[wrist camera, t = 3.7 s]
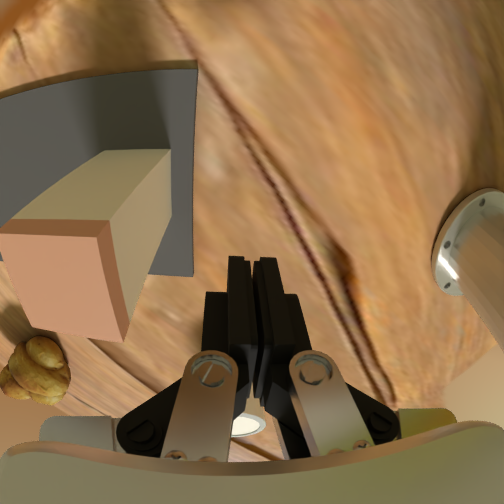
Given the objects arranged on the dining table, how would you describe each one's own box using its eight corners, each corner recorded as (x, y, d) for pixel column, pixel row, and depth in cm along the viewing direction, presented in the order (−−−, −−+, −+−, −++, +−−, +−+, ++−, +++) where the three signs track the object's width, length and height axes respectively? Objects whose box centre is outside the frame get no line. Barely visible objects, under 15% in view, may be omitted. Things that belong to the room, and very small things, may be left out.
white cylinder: (192, 375, 33) (187, 426, 27) (230, 350, 30) (230, 407, 25) (234, 395, 36) (235, 441, 30) (273, 373, 33) (279, 425, 27)
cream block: (170, 149, 19) (96, 237, 8) (171, 215, 21) (123, 342, 11) (104, 150, 18) (-6, 233, 8) (110, 213, 21) (31, 326, 11)
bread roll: (33, 316, 28) (5, 366, 21) (93, 361, 32) (76, 414, 25) (12, 349, 31) (-8, 389, 25) (60, 384, 36) (46, 426, 29)
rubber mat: (198, 69, 16) (197, 69, 16) (193, 272, 25) (193, 277, 24) (-28, 109, 14) (-32, 111, 14) (1, 257, 23) (-2, 260, 22)
